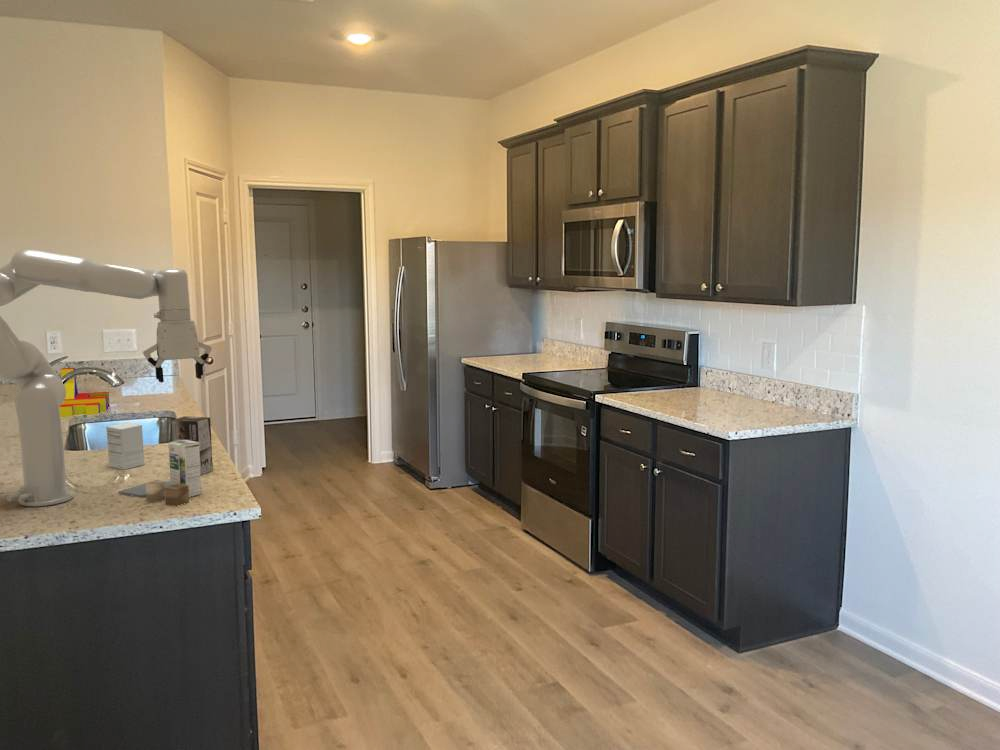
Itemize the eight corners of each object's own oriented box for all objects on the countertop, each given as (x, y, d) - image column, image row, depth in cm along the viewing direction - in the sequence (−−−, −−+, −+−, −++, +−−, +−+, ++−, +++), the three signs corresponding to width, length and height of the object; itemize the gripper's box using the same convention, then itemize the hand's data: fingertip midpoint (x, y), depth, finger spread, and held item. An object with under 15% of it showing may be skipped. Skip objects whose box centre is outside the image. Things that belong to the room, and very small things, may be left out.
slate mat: (143, 497, 214) (142, 495, 214) (118, 493, 217) (118, 491, 217) (180, 485, 225) (180, 483, 225) (156, 482, 229) (156, 479, 229)
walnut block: (177, 506, 206) (176, 489, 206) (165, 504, 208) (164, 487, 207) (189, 502, 210) (188, 485, 209) (177, 500, 211) (176, 483, 211)
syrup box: (169, 496, 215) (166, 442, 213) (189, 490, 220) (186, 438, 218) (183, 499, 212) (180, 445, 210) (202, 494, 217) (199, 441, 215)
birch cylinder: (155, 503, 209) (154, 486, 208) (142, 501, 211) (141, 484, 210) (168, 498, 213) (167, 482, 212) (156, 496, 215) (155, 480, 214)
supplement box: (130, 462, 252) (127, 422, 251) (145, 465, 249) (142, 424, 247) (108, 467, 246) (105, 426, 244) (123, 470, 242) (120, 428, 241)
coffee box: (214, 470, 242) (211, 417, 240) (200, 475, 236) (197, 421, 234) (187, 468, 245) (185, 415, 243) (173, 473, 239) (170, 419, 236)
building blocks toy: (53, 419, 323) (49, 374, 321) (60, 409, 346) (57, 366, 344) (105, 416, 330) (102, 371, 328) (109, 406, 353) (106, 364, 351)
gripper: (142, 318, 208) (148, 385, 210) (212, 315, 217) (216, 378, 219) (137, 317, 214) (142, 381, 216) (205, 313, 223) (209, 375, 226)
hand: (180, 380), depth 218 cm, fingers open, 9 cm apart
